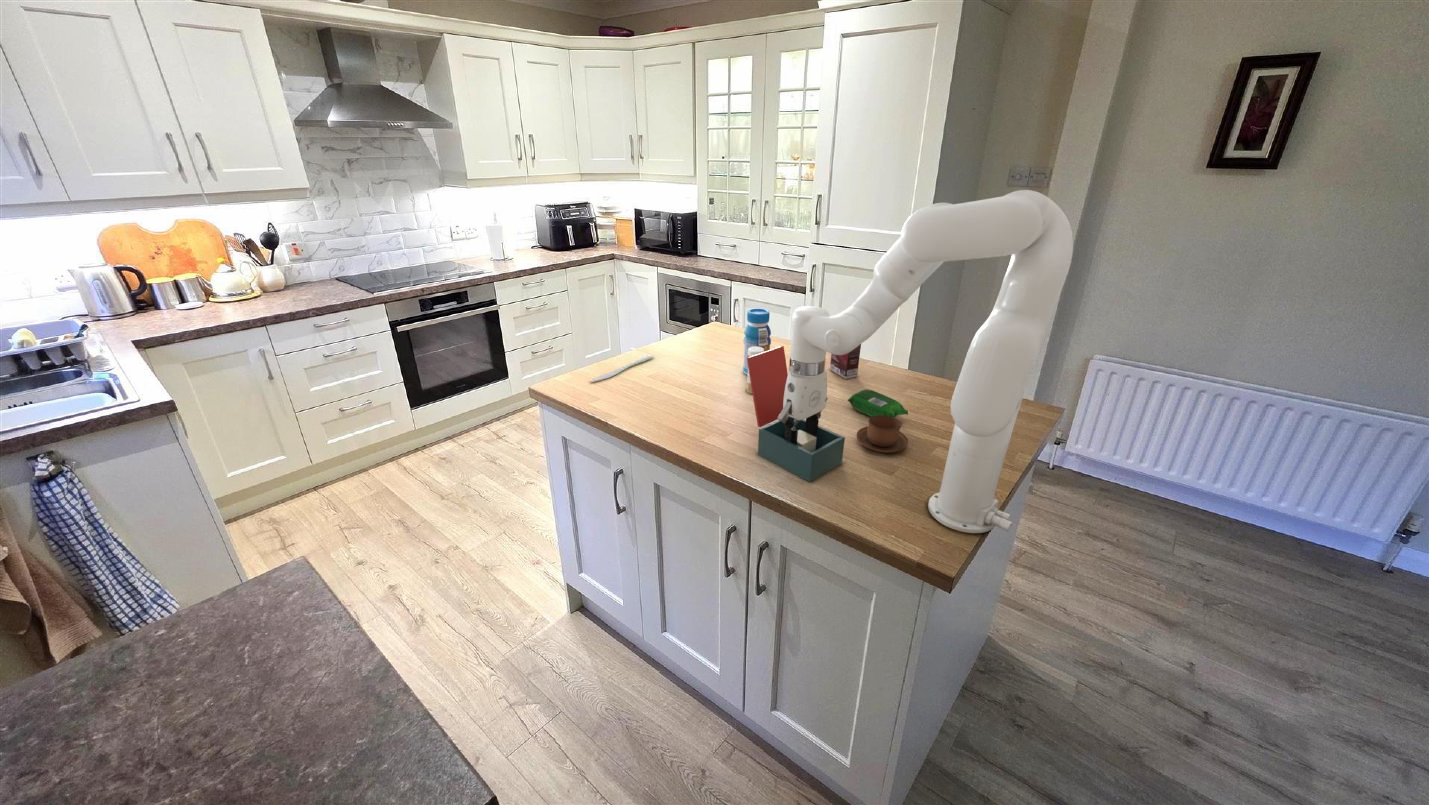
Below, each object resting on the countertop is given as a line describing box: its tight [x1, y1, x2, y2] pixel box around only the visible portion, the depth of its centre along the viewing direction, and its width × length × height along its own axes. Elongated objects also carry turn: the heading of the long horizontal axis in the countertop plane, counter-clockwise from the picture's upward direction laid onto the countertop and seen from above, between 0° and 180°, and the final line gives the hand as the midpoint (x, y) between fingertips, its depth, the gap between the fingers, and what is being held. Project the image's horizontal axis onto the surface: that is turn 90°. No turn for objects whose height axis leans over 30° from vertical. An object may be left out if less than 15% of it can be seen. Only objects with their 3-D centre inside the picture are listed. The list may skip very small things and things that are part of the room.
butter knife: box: [590, 355, 654, 383], centre depth 176 cm, size 1×27×3 cm
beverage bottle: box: [742, 307, 772, 376], centre depth 170 cm, size 8×8×20 cm
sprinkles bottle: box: [746, 346, 764, 395], centre depth 158 cm, size 5×5×13 cm
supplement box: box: [829, 343, 862, 380], centre depth 170 cm, size 9×5×16 cm, turn 25°
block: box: [797, 430, 817, 453], centre depth 126 cm, size 5×5×5 cm
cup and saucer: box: [856, 415, 909, 454], centre depth 132 cm, size 12×12×6 cm
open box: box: [757, 418, 846, 483], centre depth 126 cm, size 16×12×7 cm
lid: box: [747, 345, 789, 428], centre depth 127 cm, size 16×12×1 cm
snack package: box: [847, 388, 909, 419], centre depth 147 cm, size 7×16×5 cm, turn 35°
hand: (801, 437), depth 125 cm, fingers open, 6 cm apart
